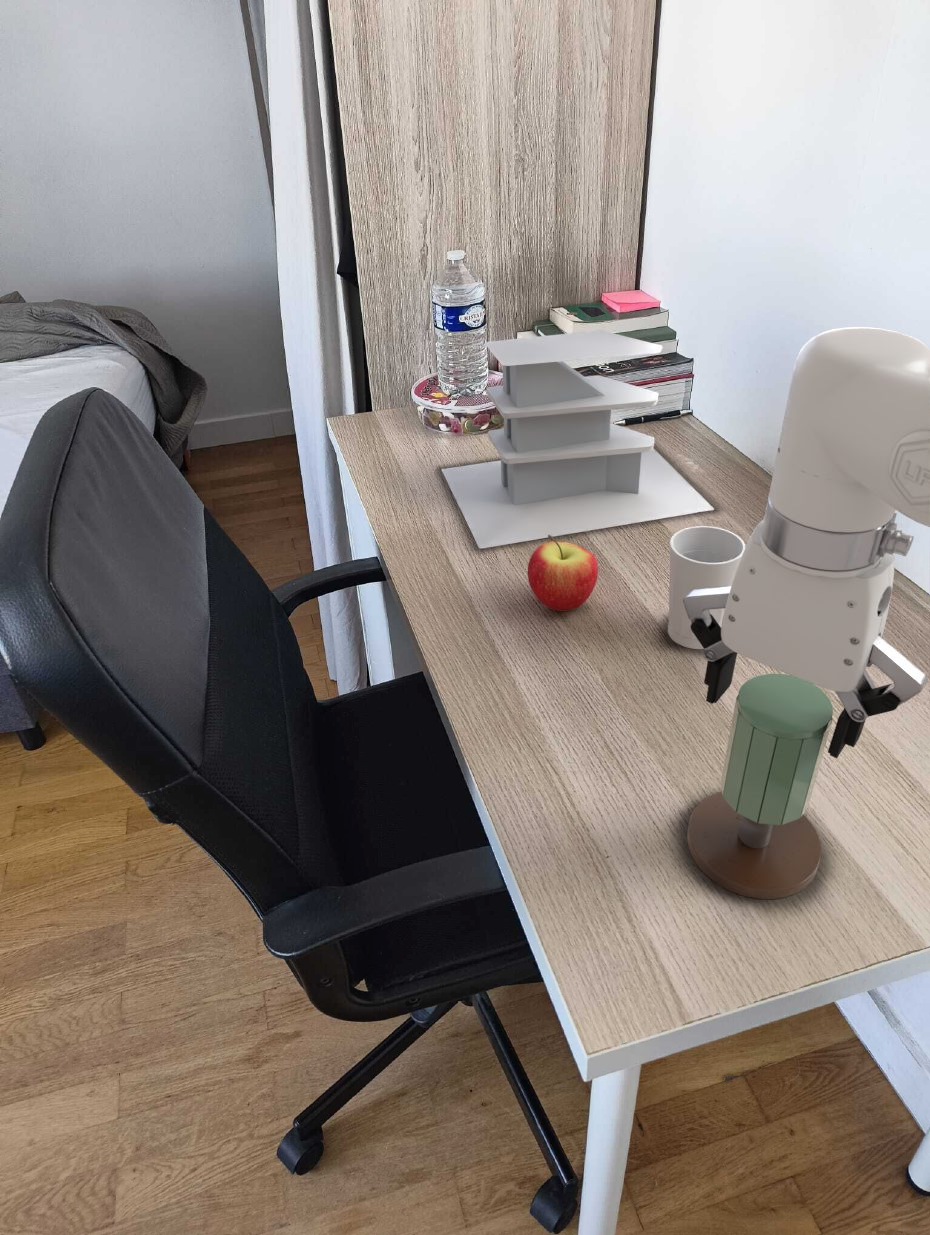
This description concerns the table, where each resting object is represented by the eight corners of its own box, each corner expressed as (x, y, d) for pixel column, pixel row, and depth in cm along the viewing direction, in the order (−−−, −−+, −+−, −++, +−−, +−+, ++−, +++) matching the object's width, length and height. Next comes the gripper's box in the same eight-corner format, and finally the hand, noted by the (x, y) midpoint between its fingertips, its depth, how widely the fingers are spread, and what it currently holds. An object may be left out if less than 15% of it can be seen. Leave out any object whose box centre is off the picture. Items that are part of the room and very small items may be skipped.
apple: (524, 587, 108) (523, 518, 102) (589, 582, 108) (593, 513, 102) (532, 625, 101) (531, 554, 95) (602, 620, 101) (606, 549, 95)
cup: (738, 652, 95) (754, 562, 88) (666, 654, 95) (677, 565, 88) (722, 611, 101) (735, 524, 94) (655, 613, 102) (664, 527, 95)
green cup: (820, 785, 70) (846, 695, 64) (788, 838, 66) (812, 746, 60) (742, 751, 73) (760, 662, 67) (707, 798, 69) (722, 708, 63)
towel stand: (838, 835, 74) (882, 697, 64) (788, 923, 67) (829, 783, 58) (721, 779, 80) (745, 645, 70) (664, 855, 73) (683, 718, 64)
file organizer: (441, 469, 136) (431, 334, 123) (643, 438, 142) (654, 306, 129) (479, 548, 116) (472, 397, 103) (714, 509, 121) (735, 360, 108)
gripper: (984, 544, 52) (908, 739, 63) (725, 471, 62) (696, 652, 72) (950, 601, 48) (875, 801, 58) (676, 513, 57) (652, 700, 67)
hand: (776, 718), depth 65 cm, fingers open, 9 cm apart
